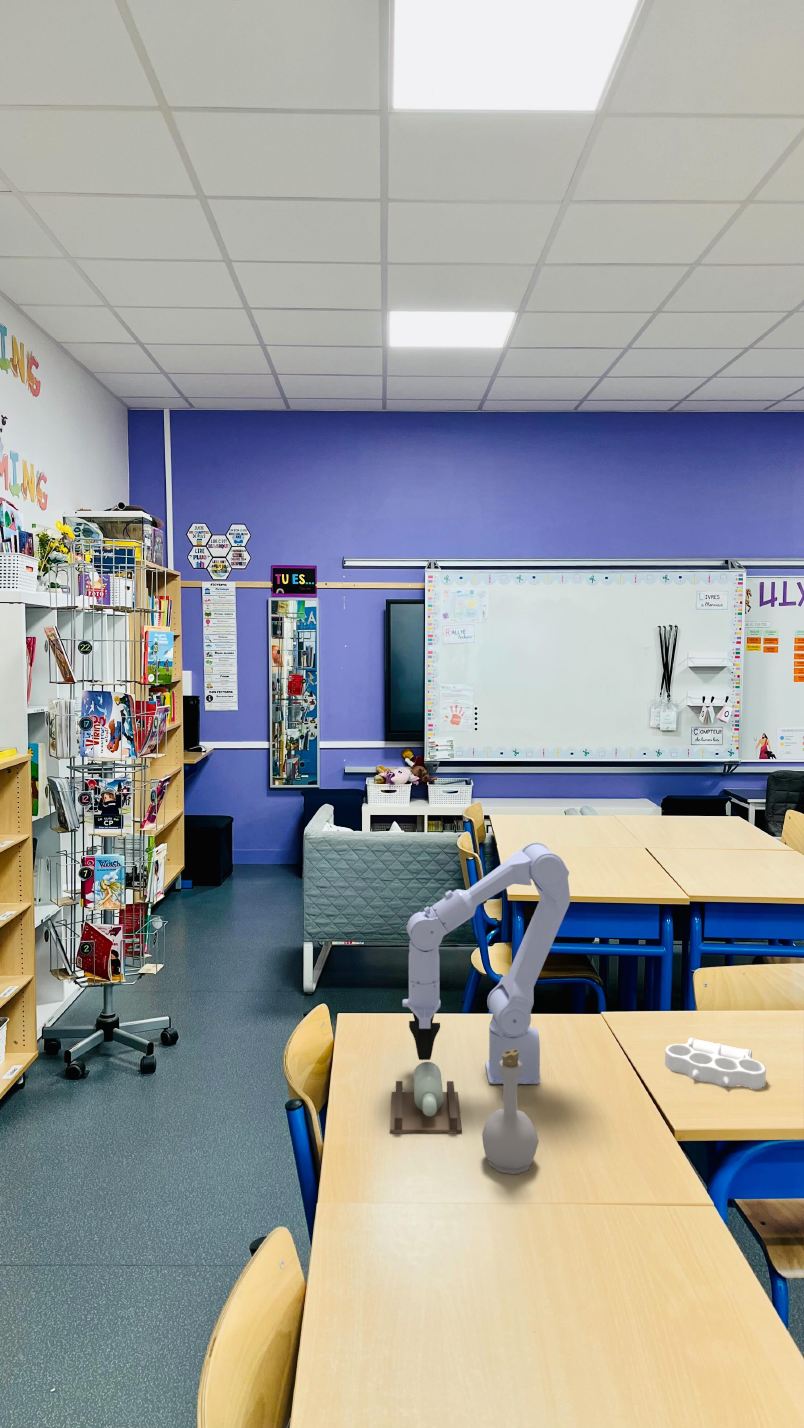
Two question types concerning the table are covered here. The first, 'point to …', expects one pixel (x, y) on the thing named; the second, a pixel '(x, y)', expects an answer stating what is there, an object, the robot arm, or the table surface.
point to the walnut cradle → (415, 1121)
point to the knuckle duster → (715, 1063)
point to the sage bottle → (428, 1088)
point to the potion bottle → (510, 1125)
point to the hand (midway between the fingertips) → (424, 1049)
